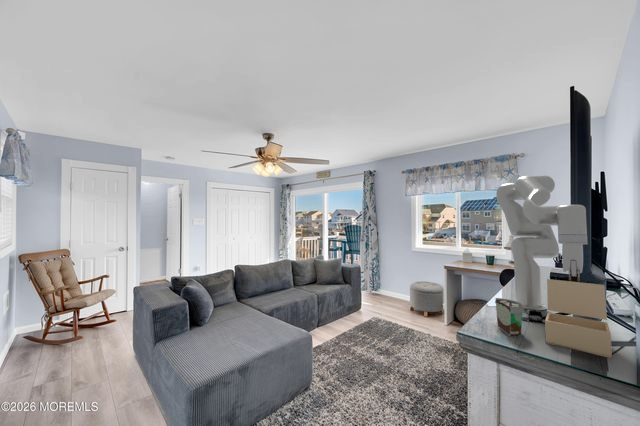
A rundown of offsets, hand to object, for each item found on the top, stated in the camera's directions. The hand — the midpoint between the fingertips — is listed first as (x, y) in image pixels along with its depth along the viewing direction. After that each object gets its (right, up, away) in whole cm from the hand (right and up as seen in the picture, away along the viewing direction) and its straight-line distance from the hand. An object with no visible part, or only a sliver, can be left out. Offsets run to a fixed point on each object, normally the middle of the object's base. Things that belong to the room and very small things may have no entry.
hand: (575, 292), depth 94 cm
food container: (-22, -14, -1) cm, 26 cm away
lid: (-5, 0, -5) cm, 7 cm away
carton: (-10, -13, -11) cm, 20 cm away
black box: (-6, -15, +10) cm, 19 cm away
